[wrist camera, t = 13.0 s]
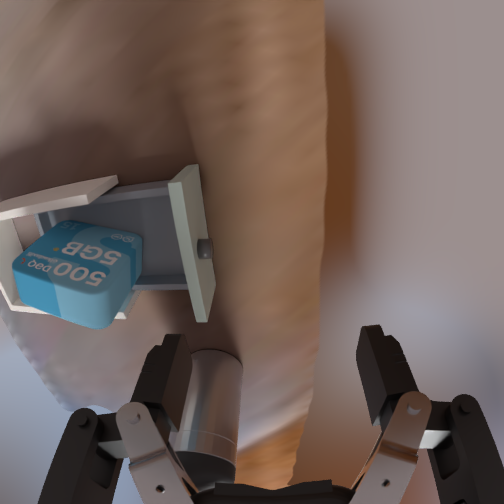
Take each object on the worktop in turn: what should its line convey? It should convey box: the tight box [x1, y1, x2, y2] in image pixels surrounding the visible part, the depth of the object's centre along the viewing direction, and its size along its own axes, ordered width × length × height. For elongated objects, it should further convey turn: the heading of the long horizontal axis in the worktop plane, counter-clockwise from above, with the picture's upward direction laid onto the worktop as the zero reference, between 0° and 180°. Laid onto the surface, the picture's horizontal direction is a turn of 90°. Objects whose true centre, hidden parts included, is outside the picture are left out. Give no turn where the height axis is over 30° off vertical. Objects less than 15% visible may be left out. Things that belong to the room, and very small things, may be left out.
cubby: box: [0, 175, 142, 319], centre depth 32 cm, size 15×22×7 cm
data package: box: [12, 220, 142, 329], centre depth 28 cm, size 12×4×12 cm, turn 78°
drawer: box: [34, 164, 216, 322], centre depth 31 cm, size 15×23×7 cm, turn 94°
